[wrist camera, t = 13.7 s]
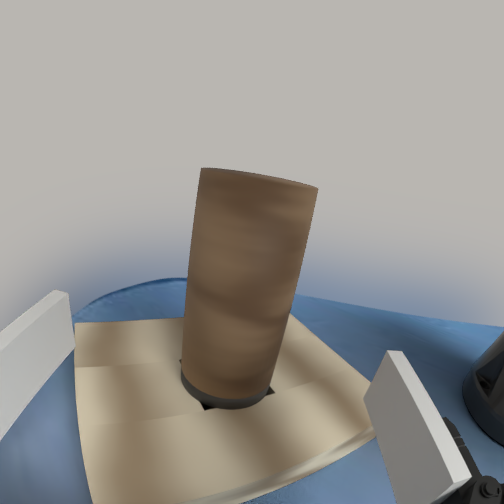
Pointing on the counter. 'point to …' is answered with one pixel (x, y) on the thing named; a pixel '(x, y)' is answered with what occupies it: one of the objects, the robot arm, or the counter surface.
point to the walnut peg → (241, 283)
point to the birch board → (207, 418)
